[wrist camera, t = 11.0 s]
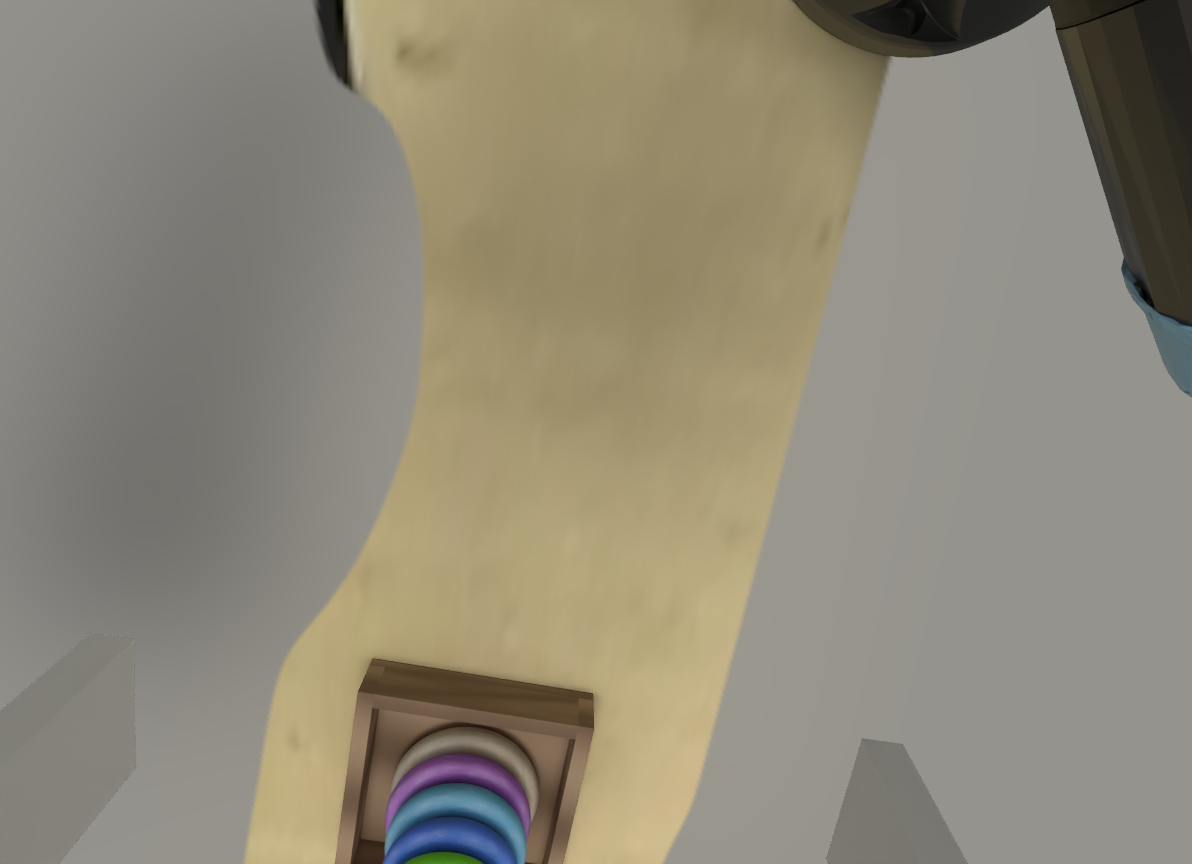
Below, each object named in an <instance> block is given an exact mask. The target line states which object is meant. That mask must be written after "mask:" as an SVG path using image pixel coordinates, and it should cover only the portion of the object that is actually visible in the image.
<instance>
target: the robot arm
mask: <svg viewBox="0 0 1192 864" xmlns="http://www.w3.org/2000/svg"><path fill="white" fill-rule="evenodd" d="M794 1H795V3H796V4H797V5H798V6H799V7H800V8H801V9H802V10H803V11H804V12H805V13H806V14H807V15H808V16H809V17H810V18H811V19H812V20H813V21H814V22H816V23H817V24H818V25H819V26H821V27H822V28H823V29H825V30H826V31H828V32H829V33H831V34H832V35H834V36H836V37H837V38H839V39H841V40H843V41H845V42H847V43H849V44H851V45H853V46H856V47H858V48H861V49H864V50H867V51H870V52H874V53H878V54H882V55H888V56H895V57H910V58H911V57H929V56H938V55H943V54H948V53H952V52H956V51H959V50H963V49H966V48H968V47H971V46H974V45H977V44H979V43H982V42H984V41H987V40H989V39H992V38H994V37H997V36H999V35H1001V34H1003V33H1005V32H1008V31H1010V30H1012V29H1013V28H1015V27H1017V26H1019V25H1021V24H1023V23H1024V22H1026V21H1027V20H1029V19H1031V18H1032V17H1034V16H1035V15H1036V14H1038V13H1039V12H1041V11H1042V10H1043V9H1045V8H1046V7H1048V6H1050V9H1051V12H1052V15H1053V19H1054V21H1055V27H1056V33H1057V37H1058V40H1059V43H1060V46H1061V50H1062V53H1063V56H1064V60H1065V63H1066V66H1067V70H1068V73H1069V76H1070V80H1071V83H1072V86H1073V89H1074V93H1075V96H1076V100H1077V102H1078V106H1079V109H1080V113H1081V116H1082V119H1083V123H1084V126H1085V129H1086V133H1087V136H1088V139H1089V142H1090V146H1091V149H1092V153H1093V156H1094V159H1095V162H1096V165H1097V169H1098V172H1099V176H1100V179H1101V182H1102V185H1103V189H1104V192H1105V196H1106V199H1107V202H1108V205H1109V209H1110V212H1111V215H1112V219H1113V222H1114V226H1115V229H1116V232H1117V235H1118V239H1119V242H1120V245H1121V248H1122V252H1123V255H1124V260H1123V264H1122V268H1121V269H1122V274H1123V277H1124V281H1125V284H1126V287H1127V289H1128V291H1129V293H1130V295H1131V296H1132V298H1133V300H1134V301H1135V302H1136V303H1137V305H1138V306H1139V307H1140V308H1141V309H1142V310H1143V311H1144V313H1145V315H1146V317H1147V320H1148V323H1149V325H1150V328H1151V331H1152V333H1153V336H1154V338H1155V341H1156V344H1157V347H1158V349H1159V352H1160V355H1161V358H1162V360H1163V363H1164V365H1165V367H1166V369H1167V371H1168V373H1169V374H1170V376H1171V377H1172V379H1173V380H1174V381H1175V383H1176V384H1177V385H1178V387H1179V388H1180V389H1181V390H1182V391H1183V392H1184V393H1185V394H1187V395H1189V396H1191V397H1192V0H794ZM134 671H135V664H134V639H133V638H126V637H119V636H112V635H104V634H97V633H89V634H88V635H87V636H86V637H84V638H83V639H82V640H81V641H80V642H79V643H77V644H76V645H75V646H74V647H73V648H72V649H71V650H70V651H68V652H67V653H66V654H65V655H64V656H63V657H62V658H60V659H59V660H58V661H57V662H56V663H54V664H53V665H52V666H51V667H50V668H49V669H48V670H46V671H45V672H44V673H43V674H42V675H41V676H40V677H38V678H37V679H36V680H35V681H34V682H33V683H31V684H30V685H29V686H28V687H27V688H26V689H25V690H24V691H22V692H21V693H20V694H19V695H18V696H17V697H15V698H14V699H13V700H12V701H11V702H10V703H9V704H7V705H6V706H5V707H4V708H3V709H2V710H0V864H59V863H60V862H61V861H62V859H63V858H64V857H65V856H66V854H67V853H68V852H69V851H70V849H71V848H72V847H73V846H74V844H75V843H76V842H77V841H78V840H79V838H80V837H81V836H82V835H83V833H84V832H85V831H86V830H87V828H88V827H89V826H90V825H91V823H92V822H93V821H94V819H95V818H96V817H97V816H98V815H99V813H100V812H101V811H102V810H103V808H104V807H105V806H106V805H107V803H108V802H109V801H110V799H111V798H112V797H113V796H114V795H115V793H116V792H117V791H118V790H119V788H120V787H121V786H122V785H123V783H124V782H125V781H126V780H127V778H128V777H129V776H130V775H131V773H132V772H133V771H134V769H135V768H136V741H135V740H136V736H135V672H134ZM826 859H827V862H828V864H968V863H967V861H966V859H965V858H964V856H963V854H962V852H961V850H960V848H959V846H958V845H957V843H956V841H955V839H954V837H953V836H952V834H951V832H950V830H949V828H948V826H947V824H946V823H945V821H944V819H943V817H942V815H941V814H940V811H939V810H938V808H937V806H936V804H935V802H934V800H933V799H932V797H931V795H930V793H929V791H928V789H927V788H926V786H925V784H924V782H923V781H922V778H921V776H920V775H919V773H918V771H917V769H916V767H915V765H914V764H913V762H912V760H911V758H910V756H909V754H908V753H907V751H906V749H905V747H904V745H903V744H899V743H892V742H884V741H877V740H869V739H862V740H861V743H860V747H859V750H858V754H857V757H856V760H855V764H854V767H853V770H852V774H851V777H850V780H849V784H848V787H847V790H846V794H845V797H844V800H843V804H842V807H841V811H840V814H839V818H838V821H837V824H836V827H835V830H834V834H833V837H832V841H831V844H830V848H829V851H828V854H827V857H826Z"/></svg>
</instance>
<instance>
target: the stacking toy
mask: <svg viewBox="0 0 1192 864" xmlns="http://www.w3.org/2000/svg"><path fill="white" fill-rule="evenodd" d="M538 799H539V786H538V780H537V776H536V773H535V770H534V768H533V766H532V764H531V762H530V760H529V759H528V757H527V756H526V755H525V753H524V752H523V751H522V750H521V749H520V748H519V747H518V746H517V745H516V744H514V743H513V742H512V741H511V740H509V739H508V738H506V737H504V736H502V735H500V734H498V733H496V732H493V731H490V730H487V729H482V728H477V727H454V728H449V729H445V730H441V731H438V732H435V733H433V734H431V735H429V736H427V737H425V738H423V739H422V740H420V741H419V742H417V743H416V744H415V745H413V746H412V747H411V748H410V749H409V750H408V751H407V752H406V754H405V755H404V756H403V757H402V759H401V760H400V762H399V764H398V766H397V768H396V770H395V773H394V775H393V779H392V785H391V796H390V798H389V801H388V805H387V809H386V814H385V827H386V840H385V858H384V860H383V863H382V864H525V860H526V853H527V843H526V842H527V839H528V836H529V831H530V824H531V822H532V820H533V818H534V815H535V813H536V810H537V806H538Z"/></svg>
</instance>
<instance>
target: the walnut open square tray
mask: <svg viewBox="0 0 1192 864" xmlns="http://www.w3.org/2000/svg"><path fill="white" fill-rule="evenodd" d="M454 727H477V728H482V729H487V730H490V731H493V732H496V733H498V734H500V735H502V736H504V737H506V738H508V739H509V740H511V741H512V742H513V743H514V744H516V745H517V746H518V747H519V748H520V749H521V750H522V751H523V752H524V753H525V755H526V756H527V757H528V759H529V760H530V762H531V764H532V766H533V768H534V770H535V773H536V776H537V780H538V786H539V799H538V806H537V810H536V813H535V815H534V818H533V820H532V822H531V824H530V831H529V836H528V839H527V842H526V843H527V853H526V860H525V864H563V862H564V858H565V853H566V849H567V844H568V840H569V836H570V831H571V827H572V823H573V818H574V814H575V810H576V805H577V801H578V797H579V792H580V788H581V784H582V779H583V775H584V770H585V766H586V762H587V757H588V753H589V749H590V744H591V740H592V736H593V731H594V710H593V694H590V693H584V692H578V691H572V690H565V689H559V688H553V687H547V686H540V685H534V684H528V683H522V682H515V681H509V680H503V679H497V678H490V677H484V676H478V675H471V674H465V673H459V672H453V671H446V670H440V669H434V668H428V667H421V666H415V665H409V664H403V663H396V662H390V661H384V660H377V659H372V662H371V664H370V666H369V668H368V670H367V673H366V675H365V677H364V679H363V682H362V684H361V686H360V688H359V691H358V695H357V703H356V710H355V718H354V725H353V733H352V740H351V748H350V755H349V762H348V770H347V777H346V785H345V792H344V800H343V807H342V815H341V822H340V829H339V837H338V844H337V852H336V859H335V864H382V863H383V860H384V858H385V840H386V827H385V814H386V809H387V805H388V801H389V798H390V796H391V785H392V779H393V775H394V773H395V770H396V768H397V766H398V764H399V762H400V760H401V759H402V757H403V756H404V755H405V754H406V752H407V751H408V750H409V749H410V748H411V747H412V746H413V745H415V744H416V743H417V742H419V741H420V740H422V739H423V738H425V737H427V736H429V735H431V734H433V733H435V732H438V731H441V730H445V729H449V728H454Z"/></svg>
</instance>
